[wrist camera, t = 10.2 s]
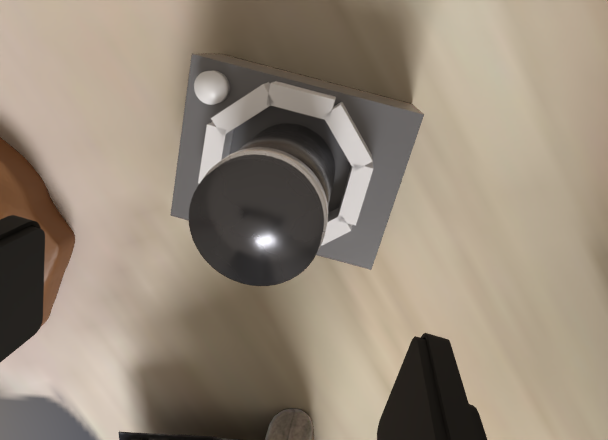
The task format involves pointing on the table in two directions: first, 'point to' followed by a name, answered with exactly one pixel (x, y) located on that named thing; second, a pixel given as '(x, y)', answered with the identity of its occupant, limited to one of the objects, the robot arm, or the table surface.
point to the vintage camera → (280, 436)
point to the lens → (265, 206)
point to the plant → (36, 217)
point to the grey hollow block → (314, 115)
